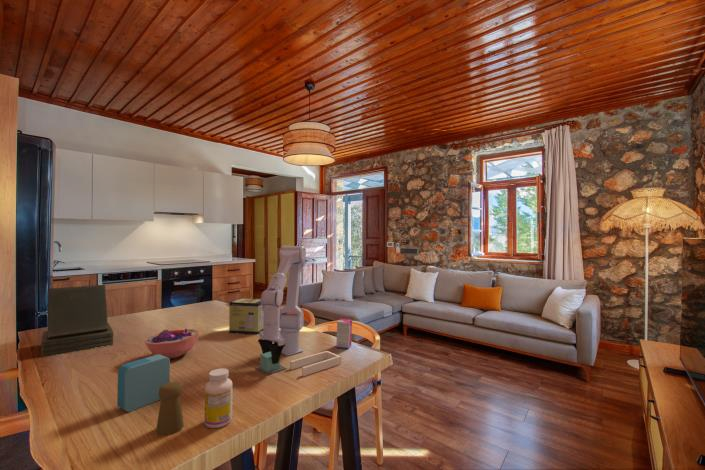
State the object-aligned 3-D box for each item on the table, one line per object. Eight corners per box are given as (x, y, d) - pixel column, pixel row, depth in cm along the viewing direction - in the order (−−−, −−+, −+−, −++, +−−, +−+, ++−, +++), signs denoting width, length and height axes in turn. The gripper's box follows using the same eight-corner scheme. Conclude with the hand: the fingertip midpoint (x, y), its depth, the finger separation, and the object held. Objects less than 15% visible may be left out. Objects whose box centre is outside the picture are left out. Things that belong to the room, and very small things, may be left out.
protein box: (238, 327, 173) (238, 298, 173) (266, 329, 171) (267, 299, 171) (228, 333, 162) (228, 301, 163) (258, 334, 160) (258, 303, 160)
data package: (161, 392, 100) (162, 352, 100) (169, 396, 98) (170, 355, 98) (116, 409, 90) (117, 365, 90) (124, 414, 88) (125, 369, 88)
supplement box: (349, 349, 141) (349, 322, 141) (335, 348, 142) (336, 321, 142) (352, 345, 146) (352, 319, 146) (339, 344, 147) (339, 318, 148)
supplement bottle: (211, 414, 88) (212, 366, 88) (236, 415, 88) (236, 366, 88) (199, 429, 81) (199, 376, 81) (225, 429, 81) (226, 377, 81)
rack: (290, 369, 119) (290, 361, 119) (327, 357, 130) (327, 350, 130) (303, 376, 113) (303, 368, 113) (341, 363, 124) (341, 356, 124)
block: (260, 368, 119) (260, 354, 119) (272, 364, 122) (272, 351, 122) (266, 372, 115) (267, 357, 115) (279, 368, 118) (279, 354, 118)
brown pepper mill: (189, 424, 83) (189, 380, 83) (168, 438, 77) (169, 391, 78) (171, 419, 85) (171, 377, 85) (149, 432, 79) (150, 387, 80)
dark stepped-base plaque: (40, 358, 128) (41, 293, 129) (42, 345, 143) (43, 288, 143) (113, 345, 143) (114, 288, 144) (108, 335, 158) (109, 283, 158)
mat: (255, 368, 119) (255, 367, 119) (275, 362, 125) (275, 362, 125) (266, 375, 113) (266, 374, 113) (286, 369, 119) (286, 368, 119)
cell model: (208, 351, 136) (209, 324, 136) (163, 369, 118) (163, 337, 118) (180, 345, 143) (181, 319, 143) (133, 361, 125) (134, 331, 125)
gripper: (252, 321, 122) (251, 357, 122) (271, 329, 111) (271, 369, 111) (269, 318, 126) (269, 353, 126) (289, 325, 116) (289, 364, 116)
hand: (271, 360), depth 119 cm, fingers open, 6 cm apart
